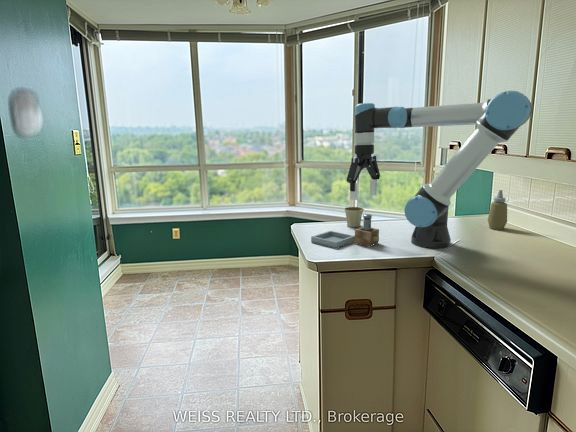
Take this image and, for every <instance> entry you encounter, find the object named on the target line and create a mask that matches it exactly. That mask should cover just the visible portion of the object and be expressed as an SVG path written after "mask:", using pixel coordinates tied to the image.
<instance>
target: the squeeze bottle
mask: <svg viewBox="0 0 576 432" xmlns="http://www.w3.org/2000/svg"><path fill="white" fill-rule="evenodd" d="M487 223H488V227H489V228H490V229H491V230H500V231H501V230H505V227H506V225H507V223H508V204H507V202H506V198H505V197H504V194H503V190H502V189H499V190H498V193H497V195H496V197H494V198H493V201H492V202H491V203H490V208H489V211H488V216H487Z"/></svg>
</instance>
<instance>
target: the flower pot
mask: <svg viewBox="0 0 576 432" xmlns="http://www.w3.org/2000/svg"><path fill="white" fill-rule="evenodd" d="M343 210H344V212H345V218H346V225H347V227H349V228H360V227H361V221H362V218H363V212H364V210H365V208H364V207H360V206H348V207H344V208H343ZM359 226H360V227H359Z"/></svg>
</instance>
